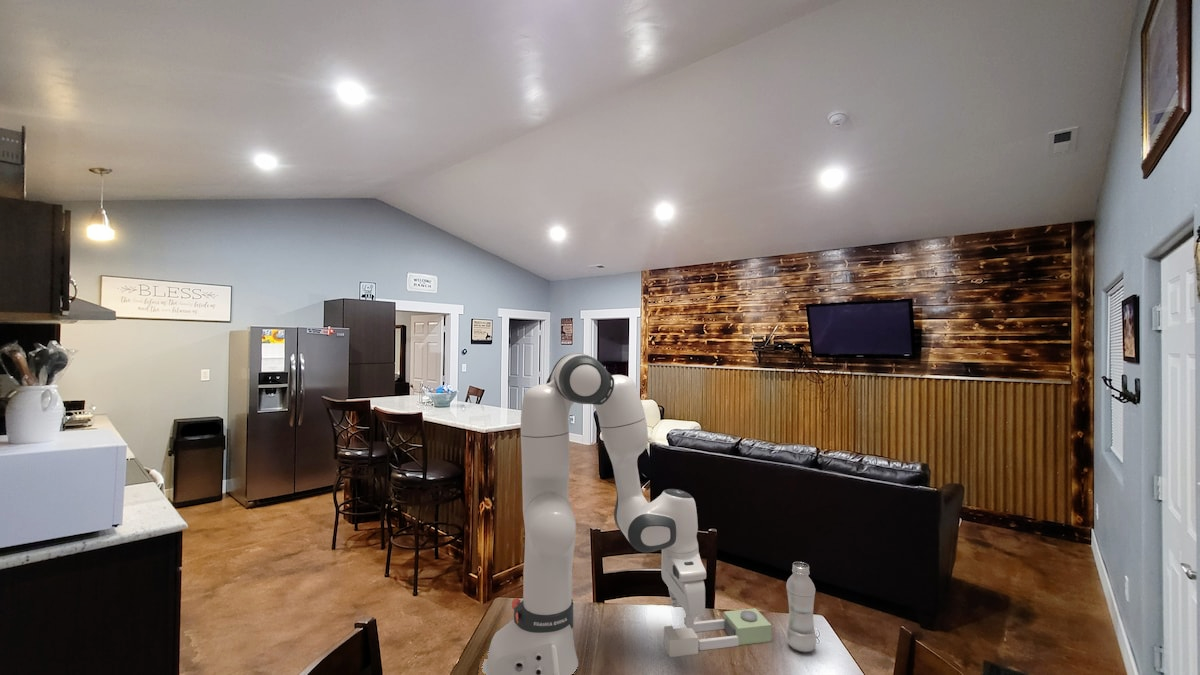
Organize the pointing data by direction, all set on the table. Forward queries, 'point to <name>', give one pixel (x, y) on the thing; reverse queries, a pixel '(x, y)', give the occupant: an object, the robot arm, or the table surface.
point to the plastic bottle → (801, 609)
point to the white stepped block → (680, 641)
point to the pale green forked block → (735, 629)
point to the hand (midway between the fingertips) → (681, 615)
